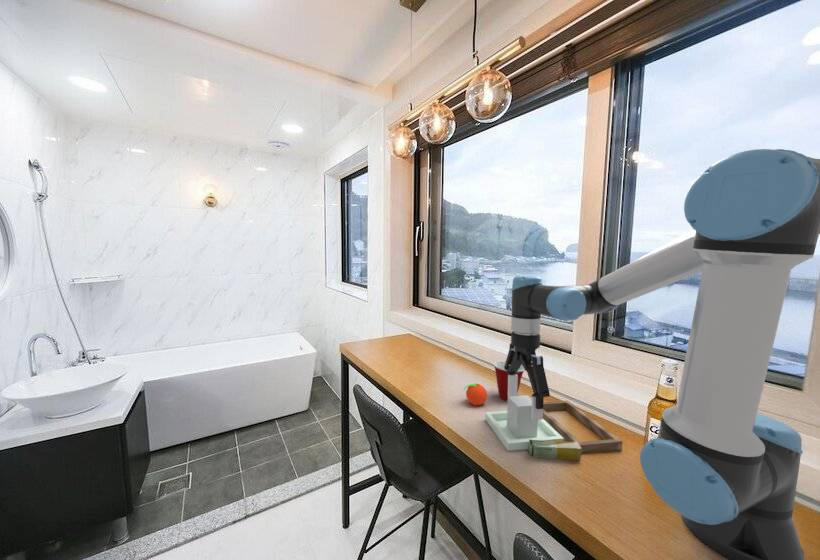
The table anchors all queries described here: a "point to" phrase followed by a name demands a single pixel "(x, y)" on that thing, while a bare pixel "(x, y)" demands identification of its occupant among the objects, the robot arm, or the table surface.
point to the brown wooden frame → (589, 446)
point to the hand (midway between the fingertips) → (523, 406)
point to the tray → (509, 440)
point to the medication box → (555, 449)
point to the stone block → (521, 417)
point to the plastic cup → (505, 378)
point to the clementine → (476, 394)
